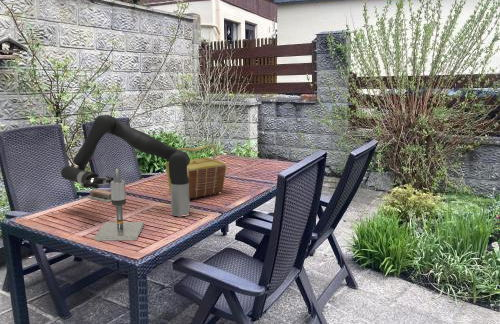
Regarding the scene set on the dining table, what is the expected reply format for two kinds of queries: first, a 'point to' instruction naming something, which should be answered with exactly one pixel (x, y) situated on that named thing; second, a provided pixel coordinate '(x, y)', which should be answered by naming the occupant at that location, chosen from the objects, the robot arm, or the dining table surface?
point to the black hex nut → (119, 202)
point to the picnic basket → (203, 174)
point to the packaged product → (100, 195)
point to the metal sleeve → (118, 190)
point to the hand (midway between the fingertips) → (105, 184)
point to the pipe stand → (119, 224)
